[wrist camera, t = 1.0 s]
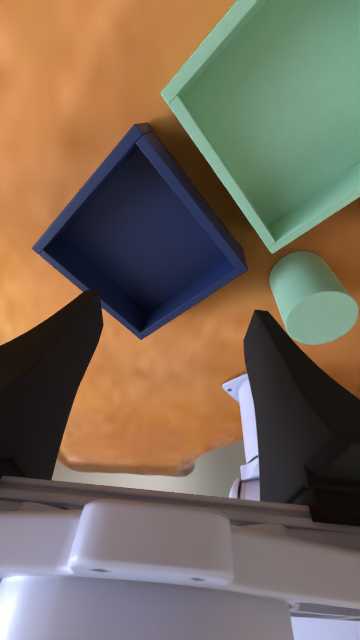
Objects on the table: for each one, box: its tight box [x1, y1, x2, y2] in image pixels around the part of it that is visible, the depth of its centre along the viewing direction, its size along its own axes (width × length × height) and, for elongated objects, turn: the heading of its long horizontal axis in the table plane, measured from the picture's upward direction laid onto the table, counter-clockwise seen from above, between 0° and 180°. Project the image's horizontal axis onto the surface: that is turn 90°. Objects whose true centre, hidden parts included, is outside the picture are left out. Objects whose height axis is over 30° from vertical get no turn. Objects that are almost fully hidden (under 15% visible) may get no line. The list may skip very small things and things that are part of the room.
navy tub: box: [32, 122, 248, 340], centre depth 20 cm, size 11×11×4 cm
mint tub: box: [161, 0, 360, 254], centre depth 14 cm, size 11×11×4 cm
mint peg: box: [269, 251, 359, 345], centre depth 20 cm, size 4×4×6 cm
